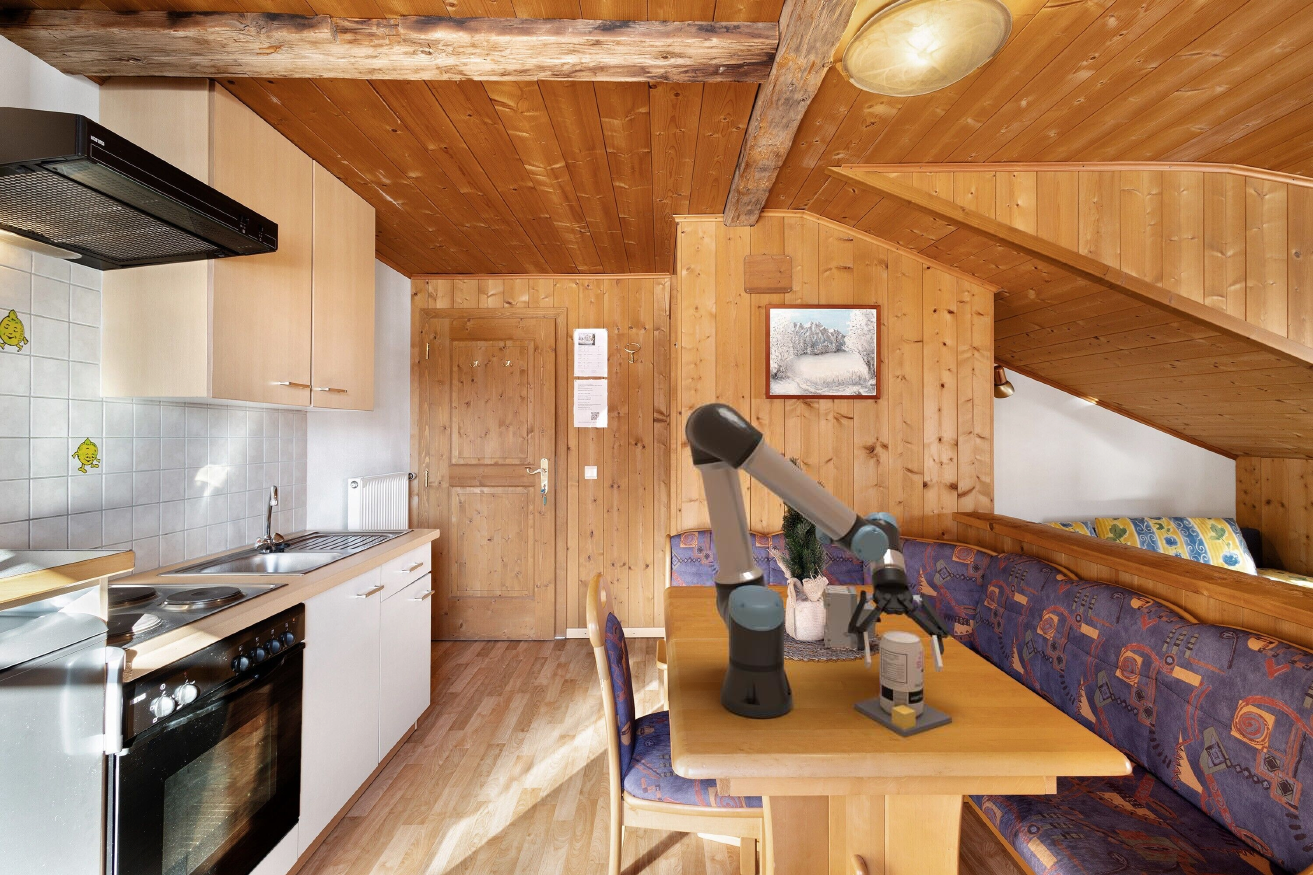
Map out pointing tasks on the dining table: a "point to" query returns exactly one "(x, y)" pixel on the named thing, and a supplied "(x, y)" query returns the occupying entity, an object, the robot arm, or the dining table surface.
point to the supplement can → (901, 671)
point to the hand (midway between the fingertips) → (903, 667)
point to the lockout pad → (886, 718)
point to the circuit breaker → (843, 616)
